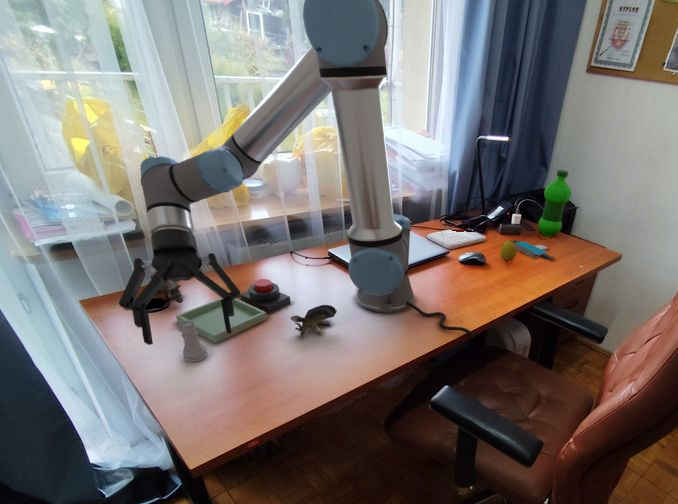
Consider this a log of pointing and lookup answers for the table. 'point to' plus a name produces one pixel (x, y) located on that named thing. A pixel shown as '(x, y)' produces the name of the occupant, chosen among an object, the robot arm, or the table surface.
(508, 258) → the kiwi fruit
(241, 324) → the green tray
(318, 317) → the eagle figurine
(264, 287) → the button
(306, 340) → the table surface
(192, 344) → the rook chess piece
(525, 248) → the blue usb hub
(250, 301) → the control box
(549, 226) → the plastic bottle
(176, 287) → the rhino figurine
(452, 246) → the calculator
